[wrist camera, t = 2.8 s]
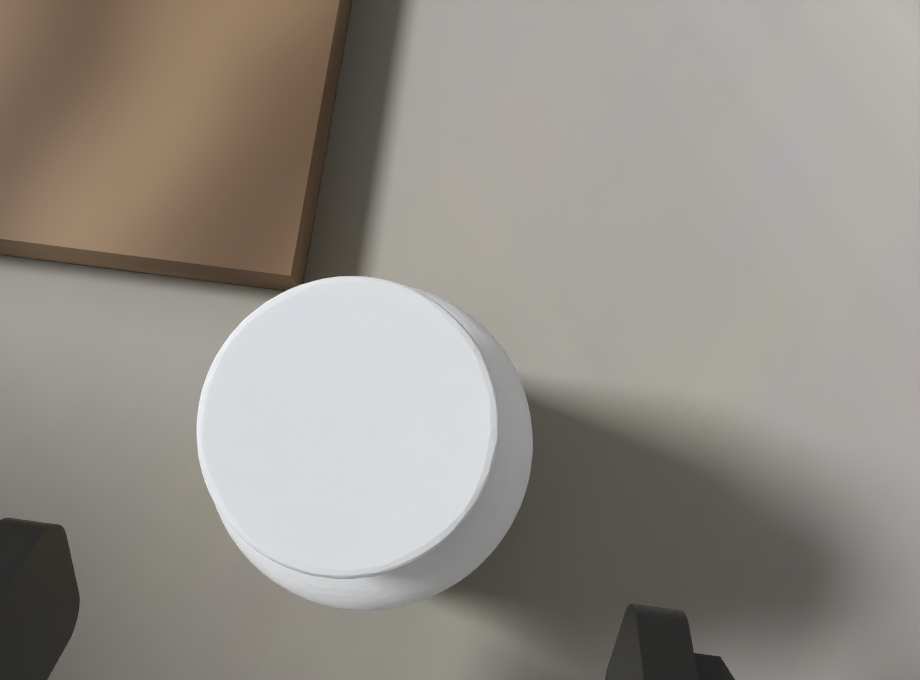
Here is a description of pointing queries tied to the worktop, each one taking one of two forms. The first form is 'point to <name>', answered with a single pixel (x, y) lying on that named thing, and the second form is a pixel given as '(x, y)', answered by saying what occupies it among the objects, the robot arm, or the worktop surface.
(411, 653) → the worktop surface
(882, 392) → the worktop surface
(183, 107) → the walnut board
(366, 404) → the supplement bottle
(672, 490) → the worktop surface
